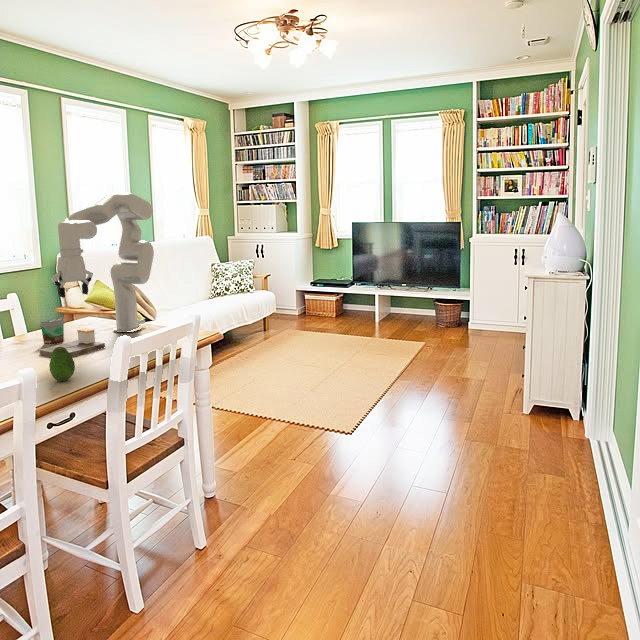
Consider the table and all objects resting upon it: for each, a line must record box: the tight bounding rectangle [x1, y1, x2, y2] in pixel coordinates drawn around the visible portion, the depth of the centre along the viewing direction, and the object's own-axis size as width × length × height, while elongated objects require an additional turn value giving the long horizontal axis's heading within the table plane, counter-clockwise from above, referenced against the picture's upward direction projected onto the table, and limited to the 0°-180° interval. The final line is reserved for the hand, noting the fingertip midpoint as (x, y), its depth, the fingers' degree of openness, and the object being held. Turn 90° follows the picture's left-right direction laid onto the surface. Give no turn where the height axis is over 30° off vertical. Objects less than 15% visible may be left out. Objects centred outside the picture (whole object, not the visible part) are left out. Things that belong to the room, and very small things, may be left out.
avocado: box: [49, 347, 76, 382], centre depth 196 cm, size 8×8×12 cm
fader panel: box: [38, 339, 106, 358], centre depth 235 cm, size 20×14×2 cm
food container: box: [39, 316, 66, 345], centre depth 248 cm, size 12×6×10 cm, turn 168°
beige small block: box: [76, 327, 96, 344], centre depth 240 cm, size 4×5×5 cm
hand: (74, 295), depth 235 cm, fingers open, 9 cm apart
